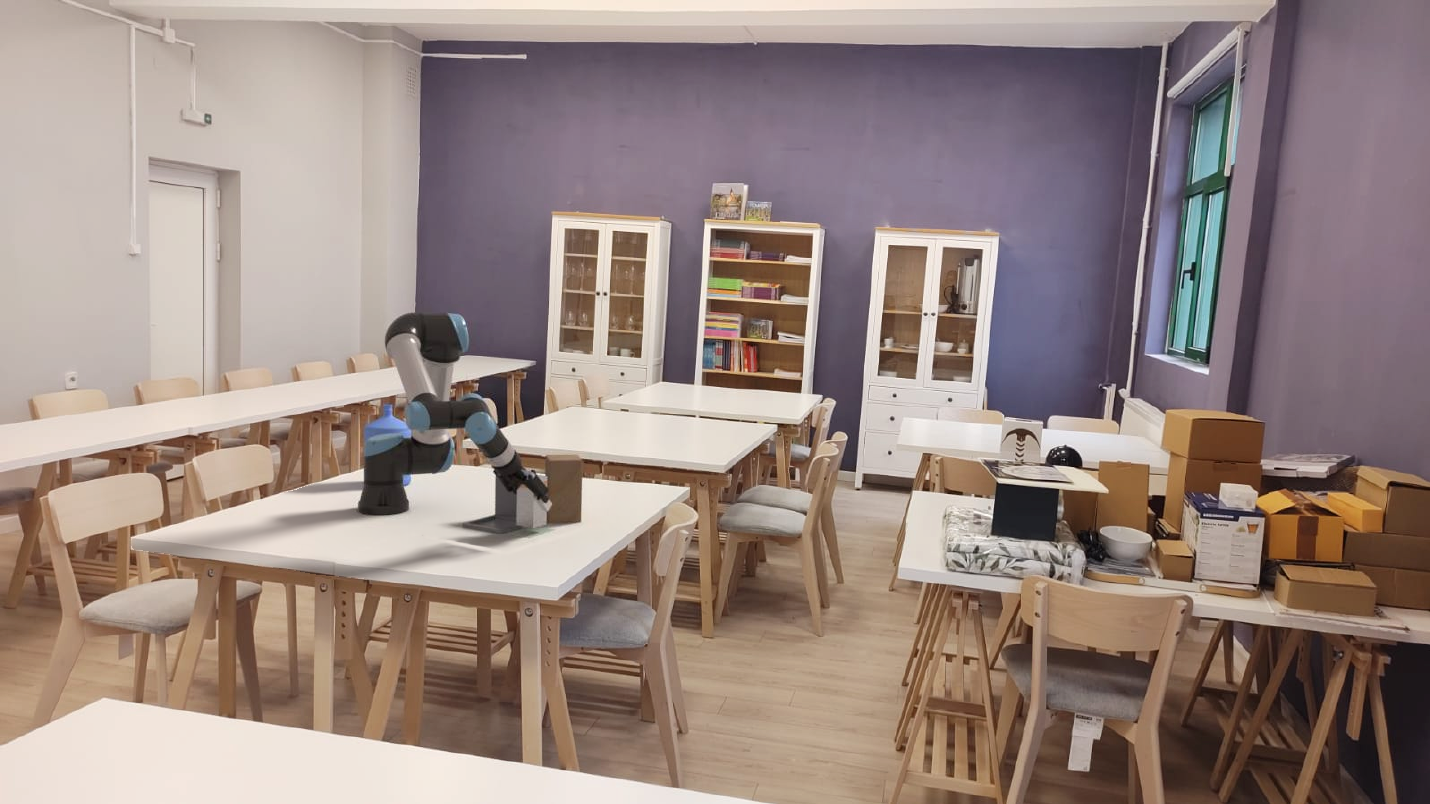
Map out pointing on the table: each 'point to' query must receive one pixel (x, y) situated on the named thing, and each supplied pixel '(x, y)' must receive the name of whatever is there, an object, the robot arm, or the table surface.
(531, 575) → the table surface
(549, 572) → the table surface
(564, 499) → the wooden block
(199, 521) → the table surface
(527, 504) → the block
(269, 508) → the table surface
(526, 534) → the sage board
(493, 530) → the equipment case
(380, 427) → the water jug
